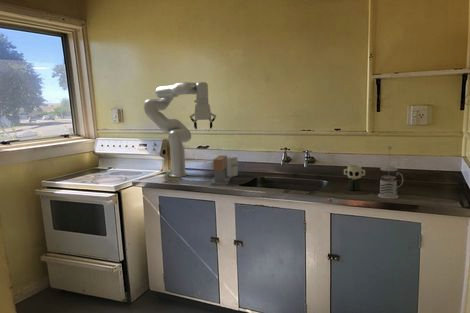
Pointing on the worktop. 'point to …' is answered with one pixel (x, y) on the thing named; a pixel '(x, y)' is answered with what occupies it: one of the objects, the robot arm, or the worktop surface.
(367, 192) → the worktop surface
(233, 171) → the supplement box
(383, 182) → the french press
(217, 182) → the display stand
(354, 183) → the big eared toy figure
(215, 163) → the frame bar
